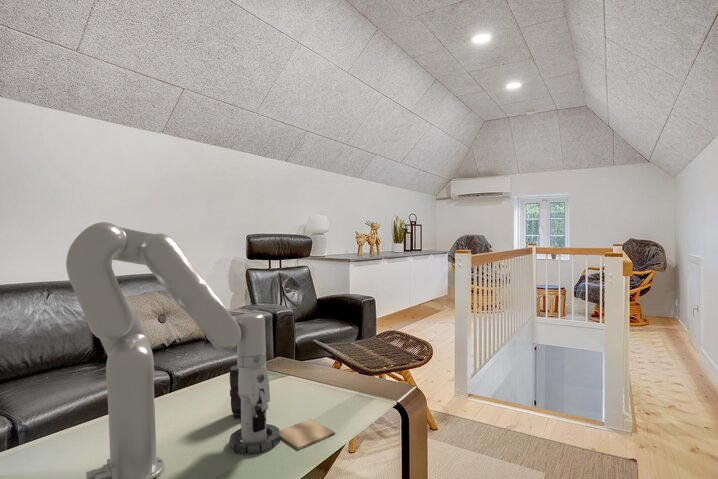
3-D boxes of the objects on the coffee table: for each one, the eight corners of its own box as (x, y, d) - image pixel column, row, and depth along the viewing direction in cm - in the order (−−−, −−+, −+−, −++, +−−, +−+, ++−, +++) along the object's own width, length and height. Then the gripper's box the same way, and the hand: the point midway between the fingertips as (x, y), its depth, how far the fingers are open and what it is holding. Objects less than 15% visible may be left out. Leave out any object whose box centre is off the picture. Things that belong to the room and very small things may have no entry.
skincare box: (244, 445, 107) (243, 399, 107) (240, 438, 111) (239, 394, 111) (267, 439, 110) (266, 394, 110) (263, 433, 113) (262, 389, 114)
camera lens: (250, 420, 124) (248, 371, 124) (226, 419, 125) (224, 370, 125) (262, 409, 132) (260, 363, 132) (239, 408, 133) (237, 362, 133)
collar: (243, 460, 101) (243, 452, 101) (222, 442, 111) (221, 434, 111) (288, 441, 110) (288, 434, 110) (265, 426, 119) (265, 419, 119)
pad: (298, 449, 105) (298, 447, 105) (274, 434, 114) (274, 432, 114) (335, 434, 113) (335, 431, 113) (310, 420, 122) (310, 418, 122)
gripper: (280, 363, 106) (282, 433, 106) (250, 351, 119) (252, 413, 119) (253, 369, 101) (255, 443, 101) (225, 356, 114) (227, 421, 114)
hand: (253, 426), depth 110 cm, fingers closed on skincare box, 5 cm apart
